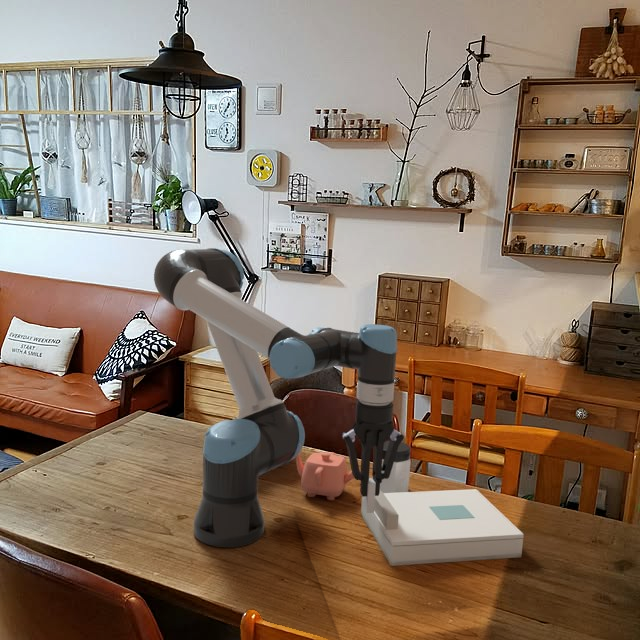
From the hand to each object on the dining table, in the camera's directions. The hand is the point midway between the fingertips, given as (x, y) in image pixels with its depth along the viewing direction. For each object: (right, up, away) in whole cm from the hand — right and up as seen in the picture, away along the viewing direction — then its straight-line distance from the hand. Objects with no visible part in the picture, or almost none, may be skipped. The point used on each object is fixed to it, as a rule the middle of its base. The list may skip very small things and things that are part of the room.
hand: (368, 509), depth 135 cm
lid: (+15, -3, +4) cm, 16 cm away
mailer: (+15, -7, +5) cm, 17 cm away
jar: (+8, -3, +26) cm, 27 cm away
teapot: (-9, -3, +23) cm, 25 cm away
